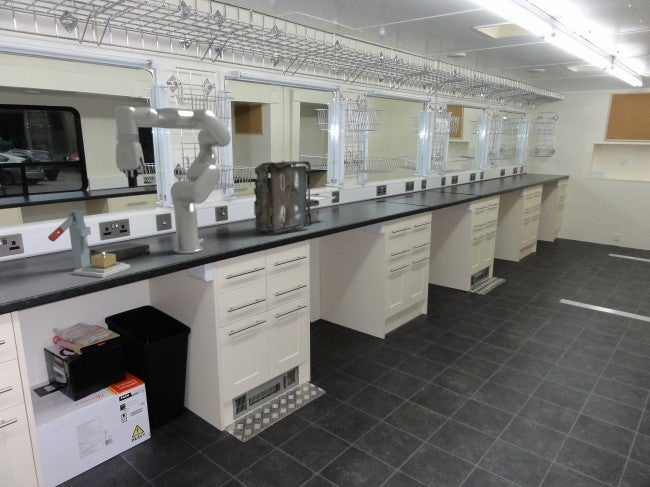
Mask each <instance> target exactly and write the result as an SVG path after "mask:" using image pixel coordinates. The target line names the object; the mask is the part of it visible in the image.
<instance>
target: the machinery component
mask: <svg viewBox="0 0 650 487" xmlns="http://www.w3.org/2000/svg"><path fill="white" fill-rule="evenodd" d="M299 164H301V165H302V164H303V165H302V166H300V165H299ZM297 165H299V166H297ZM304 165H305V166H304ZM311 167H312V166H311V163H310V162H309V161H303V160H302V161H297V160H281V161H267V162H266V161H265V162H264V163H263V162H262V163H261V164H260V163H259V165H258V166H256V167H255V168H254V174H255V175H256V180H254V186H255V188H253V194H254V195H255V200H254V205H255V231H260V232H261V233H266V234H269V233H273V234H277V235H278V234H282V233H284V234H288V233H289V231H292V230H294V231H295V230H297V229H298V230H299V229H302V228H305V227H310V226H312V222H311V214H310V211H311V201H310V195H311ZM269 174H270V177H269ZM306 194H308V197H307V200H306V196H307V195H306ZM306 211H308V212H307V213H306ZM296 212H297V213H296ZM307 214H308V216H309V222H307Z"/></svg>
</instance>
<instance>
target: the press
mask: <svg viewBox="0 0 650 487" xmlns="http://www.w3.org/2000/svg"><path fill="white" fill-rule="evenodd" d="M72 213H75V218H76V221H75V222H74V223H73V224H72V225H71V226H70V227H69V228H68V229H69V238H70V243H71V252H72V259H73V266H74V267H73V268H74V270H73V271H72V272H73V275H78V276H79V275H80V276H87V277H88V276H89V277H94V278H95V277H96V278H105V277H109V276H110V275H115V273H116V274H117V273H119V272H122V271H125V270H127V269H130V268H131V264H129V263H125V262H119V261H116V266H113V267H110V268H107V269H104V270H103V269H94V268H92V264H91V256H90V250H89V249H90V248H89V240H88V236H90V235H92V232H91V227H90V226H86V225H87V224H86V222H85V216H84V210H83V209H82V210H81V209H80V210H76V209H72V210H67V215H68V218H69V217H70V216H71V215H72Z"/></svg>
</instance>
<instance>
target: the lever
mask: <svg viewBox="0 0 650 487" xmlns="http://www.w3.org/2000/svg"><path fill="white" fill-rule="evenodd" d="M75 221H76V218H75V213H72V215H71V216H70V217H69V216H68V217H67V219H66V220H64V221H63V222H62V223H61V224H60V225H59V226H58V227H57V228H56V229H54V231H52V232H51V233H50V234H49V235H48V236H47V238H48V240H49V241H50V242H53V243H54V242H56V240H57V239H58V238H60V237H61V235H62V234H64V233H65V232H66V231H67V230H68V229H69V227H70V226H71V225H72V224H73V223H74V222H75Z"/></svg>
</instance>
